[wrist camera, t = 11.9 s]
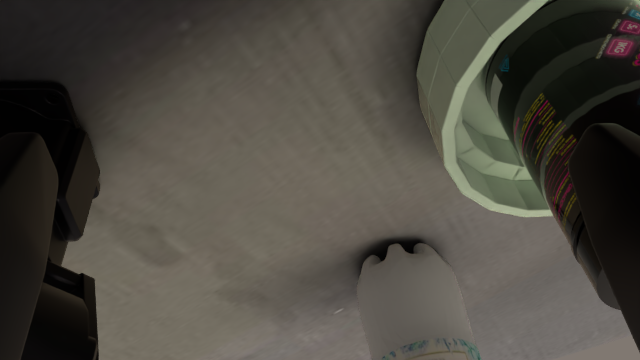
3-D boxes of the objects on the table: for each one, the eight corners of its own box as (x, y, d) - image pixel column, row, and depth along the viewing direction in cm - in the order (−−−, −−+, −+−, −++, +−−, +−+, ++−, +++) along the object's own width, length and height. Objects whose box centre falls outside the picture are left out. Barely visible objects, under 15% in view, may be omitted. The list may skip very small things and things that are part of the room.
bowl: (390, 154, 25) (412, 222, 22) (457, -127, 16) (508, -80, 13) (615, 149, 27) (665, 211, 24) (787, -109, 18) (902, -63, 15)
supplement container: (634, 83, 23) (815, 272, 16) (490, 137, 24) (596, 333, 17) (642, -53, 18) (904, 126, 11) (464, 23, 20) (593, 226, 13)
